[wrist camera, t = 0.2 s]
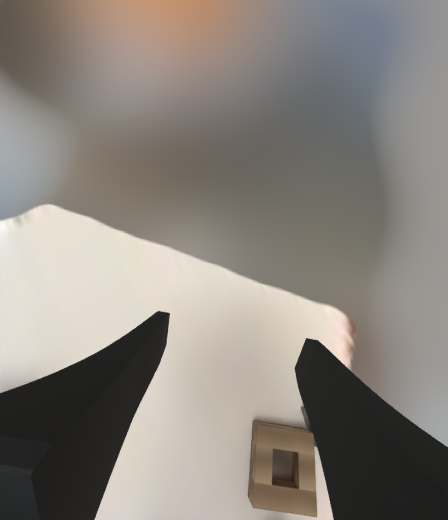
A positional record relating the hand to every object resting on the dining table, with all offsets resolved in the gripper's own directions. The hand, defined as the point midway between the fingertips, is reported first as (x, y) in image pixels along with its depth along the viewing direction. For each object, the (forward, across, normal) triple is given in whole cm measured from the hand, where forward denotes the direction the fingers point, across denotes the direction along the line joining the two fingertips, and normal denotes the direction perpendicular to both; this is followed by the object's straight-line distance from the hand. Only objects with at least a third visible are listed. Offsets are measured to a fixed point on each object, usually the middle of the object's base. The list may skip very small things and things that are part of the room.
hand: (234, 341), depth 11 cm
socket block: (+12, -13, +31) cm, 36 cm away
